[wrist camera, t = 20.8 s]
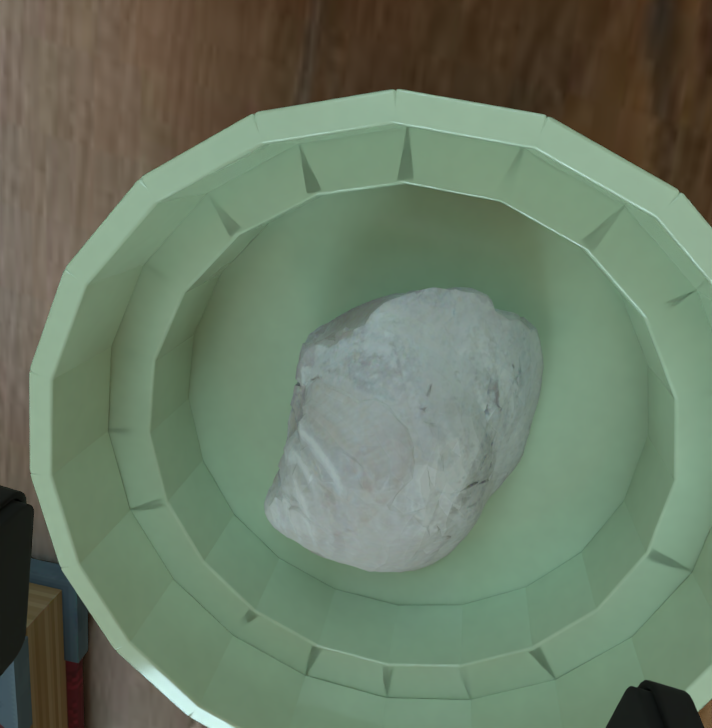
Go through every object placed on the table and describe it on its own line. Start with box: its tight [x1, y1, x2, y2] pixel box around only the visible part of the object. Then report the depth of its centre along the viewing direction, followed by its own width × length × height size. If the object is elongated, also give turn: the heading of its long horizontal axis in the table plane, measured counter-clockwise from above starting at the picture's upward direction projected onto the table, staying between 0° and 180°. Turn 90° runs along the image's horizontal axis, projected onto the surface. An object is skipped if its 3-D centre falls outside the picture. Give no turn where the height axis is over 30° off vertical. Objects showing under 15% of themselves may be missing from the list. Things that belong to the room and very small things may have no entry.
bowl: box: [29, 89, 712, 728], centre depth 17 cm, size 17×17×6 cm
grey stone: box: [264, 287, 544, 572], centre depth 17 cm, size 9×8×5 cm
